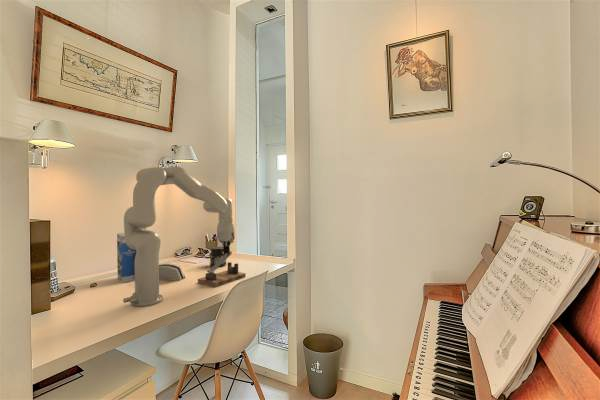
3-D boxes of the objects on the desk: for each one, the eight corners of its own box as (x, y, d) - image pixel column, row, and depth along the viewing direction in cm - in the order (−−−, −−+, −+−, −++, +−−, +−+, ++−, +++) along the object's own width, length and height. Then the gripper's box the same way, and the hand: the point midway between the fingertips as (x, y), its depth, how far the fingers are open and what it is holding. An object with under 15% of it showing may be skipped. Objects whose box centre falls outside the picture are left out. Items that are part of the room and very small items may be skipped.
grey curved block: (186, 277, 167) (182, 262, 164) (181, 282, 163) (177, 267, 160) (160, 276, 171) (156, 261, 167) (155, 281, 166) (150, 266, 163)
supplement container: (213, 263, 201) (212, 246, 201) (228, 263, 201) (228, 246, 200) (207, 267, 191) (207, 249, 190) (223, 267, 190) (223, 249, 190)
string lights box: (117, 278, 167) (116, 233, 167) (132, 275, 172) (131, 232, 172) (122, 283, 157) (121, 235, 157) (137, 280, 162) (137, 234, 162)
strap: (212, 273, 155) (211, 271, 154) (207, 272, 157) (206, 270, 157) (233, 253, 167) (231, 251, 167) (228, 252, 169) (227, 250, 169)
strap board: (215, 287, 150) (215, 272, 150) (197, 282, 158) (197, 268, 158) (245, 276, 169) (245, 263, 169) (228, 273, 176) (228, 260, 176)
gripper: (211, 220, 166) (212, 252, 167) (230, 221, 158) (231, 255, 159) (221, 219, 172) (222, 250, 173) (240, 220, 164) (240, 252, 165)
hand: (226, 252), depth 166 cm, fingers closed
